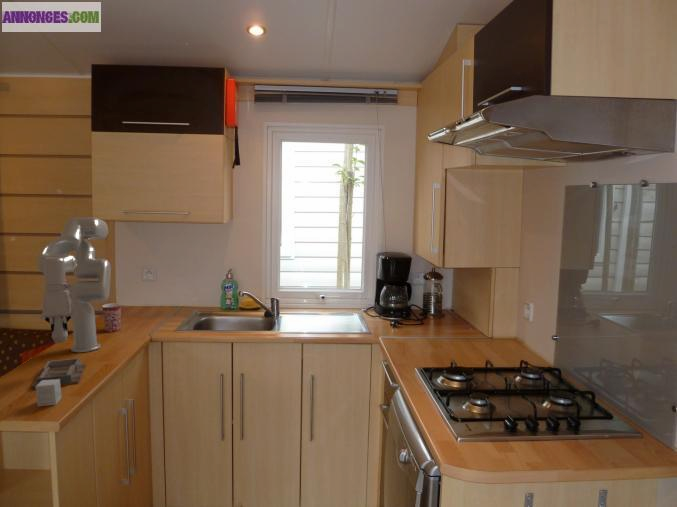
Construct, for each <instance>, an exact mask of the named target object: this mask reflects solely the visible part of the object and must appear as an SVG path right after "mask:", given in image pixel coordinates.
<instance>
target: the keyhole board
mask: <svg viewBox="0 0 677 507" xmlns="http://www.w3.org/2000/svg"><path fill="white" fill-rule="evenodd" d="M80 363H81V364H80V366H79V368H78V370H77V371H75V374H74V376H73V378H72V380H71V382H62V383H60V386H64V385H65V386H66V385H67V386H68V385H73V384H74V385H75V383H76V384H79V383H80V382H81V379H80V378H82V376H83V374H84V371H85V368H86V366H87V362H83V363H82V362H80ZM70 366H71V365H69V366H60V367H51V368H50V375H49V377H51V376H60V375H66V374H67V372H68V370H69V368H70ZM43 371H44V367H42V369H41V370H40V372H39V373H38V375H37V376H36V378H35V380H34V381H33V383H32V384H31V388H30V389H33V390H34V389H36V386H37V385H38V384H39V377H40V376H41V374H42V372H43ZM82 373H83V374H82Z"/></svg>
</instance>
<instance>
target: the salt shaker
mask: <svg viewBox="0 0 677 507" xmlns="http://www.w3.org/2000/svg"><path fill="white" fill-rule="evenodd" d="M68 336H69V334H68V330H65V332H64V329H63V317H62V316H59V314H58V313H56V314H55V317H54V331H52V332H51V339H52V340H53V342H54V343H57V344H61V343H65V342H66V341H67V339H68Z"/></svg>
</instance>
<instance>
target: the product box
mask: <svg viewBox="0 0 677 507" xmlns="http://www.w3.org/2000/svg"><path fill="white" fill-rule="evenodd" d="M61 386H62V385H60V379H55V380H42V381H41V382H40V383H39V384H38V385H37V386H36V388H35V395H36V405H37V407H44V406H46V407H48V406H56V405H57V404H59V402H60V400H62V389H61V388H62V387H61Z"/></svg>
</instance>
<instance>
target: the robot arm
mask: <svg viewBox="0 0 677 507" xmlns="http://www.w3.org/2000/svg"><path fill="white" fill-rule="evenodd" d="M108 234H109V226H108V224H107V223H106V221H105V220H102V219H101V218H98V217H95V216H94V217H93V216H91V217H90V216H85V217H83V216H82V217H71V218H69V219H68V220H67V221H66V222H65V224H64V227H63V228H62V231H61V234H60V236H59V237H58V238H55V239H54V240H52V241H51V242H49V243H47V244H46V245H44V247H43V248H42V250H40V254H39V256H38V258H37V264H36V265H37V269H38V270H39V272H41V273H42V274H43V277H44V287H45V288H44V289H45V290H44V292H43V296H42V297H43V299H42V312H41V314H40V315H39V319H41V320H43V321H45V322H47V323H48V324H49V325H50V331H51V333H52V331H54V317H55V314H56V313H58V314H59V316H62V317H63V329H64V332H65V330H67V331H68V322H69V321H70V320H72V323H71V324H72V332H73V334H72V336H73V345H72V346H71V347H70V351H71V352H72V353H88V352H93V351H95V350H99V349H100V348H101V347H102V346H101V343H99V342H98V341H97V339H98V338H97V327H96V315H95V314H96V313H95V309H94V306H92V304H91V303H90V302H93V303H94V302H104V301H105V302H106V301H107V300H108V299H109V297H110V293H111V291H110V290H111V279H112V278H111V277H112V266H111V263H110V261H109V260H108V259H106V258H95V257H96V250H95V247H94V246H93V245H92V244H91V243H90V242H89V241H88V240H102V239H105V238H107V237H108ZM74 251H75V252H74ZM70 252H74V255H73V254H69V253H70ZM72 272H73V276H74V278H75V279H77V281H74V282H71V283H67V276H66V273H72ZM78 280H80V281H78Z"/></svg>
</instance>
